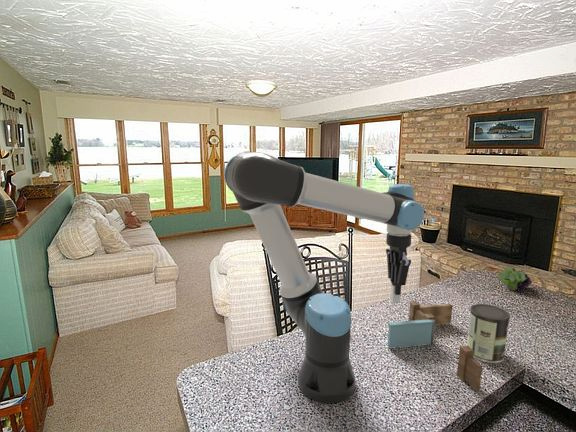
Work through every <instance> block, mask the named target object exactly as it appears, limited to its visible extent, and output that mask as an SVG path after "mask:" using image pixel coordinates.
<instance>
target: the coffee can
mask: <svg viewBox="0 0 576 432" xmlns="http://www.w3.org/2000/svg"><path fill="white" fill-rule="evenodd" d="M469 310H470V312H469V323H468V332H467V342H466V346H469V347H470V348H471V349H472V350H474V354H473V358H474V359H475V360H477V361H478V360H479V361H480V362H484V363H487V364H488V363H489V364H500V363H502V362H504V360H505V353H506V352H505V351H506V343H507V337H508V329H509V322H510V318H511V314H510V313H509V312H508V311H507V310H505V309H503V308H501V307H499V306H496V305H491V304H488V303H487V304H485V303H476V304H473V305H471V306H470V307H469Z"/></svg>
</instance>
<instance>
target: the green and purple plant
mask: <svg viewBox="0 0 576 432" xmlns="http://www.w3.org/2000/svg"><path fill="white" fill-rule="evenodd" d="M498 281H499V282H501V283H502V284H504V285H505V286H506V287H508V288H509V290H510V292H511V291H512V292H513V291H515V292H516V291H517V292H519V291H520V290H525V289H527V288H529V286H530V285H532V283H533V282H532V280H531V277H529V276H528V274H527V273H526V271H522V270H516V269H515V268H514V267H508V266H506V268H505V269H504V270H503V271H502V272H498Z"/></svg>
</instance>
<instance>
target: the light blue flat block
mask: <svg viewBox="0 0 576 432" xmlns="http://www.w3.org/2000/svg"><path fill="white" fill-rule="evenodd" d="M387 325H388V330H387V331H388V333H387V334H388V335H387V347H388V348H389V349H394V348H395V349H396V348H402V347H403V348H405V347H416V346H426V345H427V346H428V345H434V339H435V328H436V325H435V320H433V319H428V320H415V321H409V320H403V321H392V322H390V321H389V322H388V323H387Z"/></svg>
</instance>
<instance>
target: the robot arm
mask: <svg viewBox="0 0 576 432" xmlns="http://www.w3.org/2000/svg"><path fill="white" fill-rule="evenodd" d="M224 181H225V184H226V186H227V188H228V189H229V190H230V191H231V192H232V194H233V195H234V197H235V200H236V202H237V204H238V206H239V208H240V210H241V212H243V213H245V214H246V213H247V214H248V215H249V216H250V218H251V221H252V223H253V225H254V227H255V229H256V231H257V235H258V236H259V238H260V240H261V242H262V245H263V247H264V249H265V252H266V253H267V255H268V258H269V260H270V262H271V264H272V266H273V268H274V271H275V273H276V276H277V277H278V279H279V282H280V284H281V285H280V287H279V295H280V296H281V298H282V299H281V301H282V305H283V308H284V310H285V312H286V313H287V315H289V317H290V318H291V319H292V320H293V322H294V323H295V324H296V325H297V327H298V328H299V329H300V330H301V332H302V333H303V334H304V338H305V340H304V341H305V346H304V348H305V352H304V353H305V354H304V357H303V361H302V363H301V365H300V369H299V372H298V387H299V389H300V390H301V392H302V393H303V394H304V395H305V396H306V397H308V398H309V399H311V400H313V401H316V402H319V403H322V404H323V403H324V404H336V403H341V402H343V401H346V400H347V399H349V398H350V397H351V396H352V395H353V393H354V392H355V388H356V377H355V372H354V369H353V366H352V363H351V359H350V350H351V346H350V345H351V326H352V316H351V314H352V312H351V307H350V306H349V304H348V302H347V301H346V300H345V299H343V298H342V297H340V296H338V295H334V294H332V293H325V292H323V290H322V287H321V286H320V282H319V280H318V278H317V276H316V275H315V273H312V272H309V270H308V268H307V267H308V266H306V263H305V260H304V259H303V256H302V254H301V251H300V248H299V246H298V244H297V241H296V239H295V237H294V234H293V232H292V230H291V226H290V225H289V221H288V220H287V218H286V216H285V214H284V210H283V208H282V206H284V207H289V208H294V207H295V206H297V205H300V206H305V207H309V208H313V209H320V210H323V211H328V212H332V213H335V214H341V215H346V216H350V217H354V218H357V219H359V220H366V221H367V220H368V221H372V222H377V223H381V224H384V225H386V232H387V233H386V240H385V241H386V242H385V243H386V245H387V246H389V248H386V249H385V253H386V260H387V261H386V262H387V263H386V264H387V276H388V279H389V280H390V283H391V285H390V286H391V287H390V289H391V290H390V302H391V304H401V300H402V299H401V298H402V297H401V296H402V286H403V287H404V286H406V283H407V279H408V275H409V269H410V266H411V263H412V260H411V259H408V251H407V249H408V248H409V247H411V245H412V232H413V230H416V229H418V228H419V227H420V226H421V225H422V223H423V222H424V221H423V220H424V219H425V209H424V207H423V206H422V204H421V203H419V202H417V201H415V189H414V188H415V187H414V186H412V185H410V184H405V183H395V184H393V183H392V184H390V185H389V186H388V190H387V191H386V192H384V191H383V192H380V191H379V192H378V191H376V190H372V189H367V188H364V187H361V186H357V185H353V184H349V183H345V182H342V181H339V180H338V181H337V180H335V179H331V178H328V177H325V176H324V177H323V176H320V175H315V174H312V173H308V172H306V171H305V169H304V167H302V166H300V165H295V164H292V163H289V162H287V161H284V160H281V159H279V158H277V157H275V156H273V155H270V154H268V153H264V152H261V151H260V152H254V151H249V150H248V151H243V152H239V153H236V155H234V156H233V157H231V158H230V159H229V160H228V162H227V163H226V165H225V169H224Z"/></svg>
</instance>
